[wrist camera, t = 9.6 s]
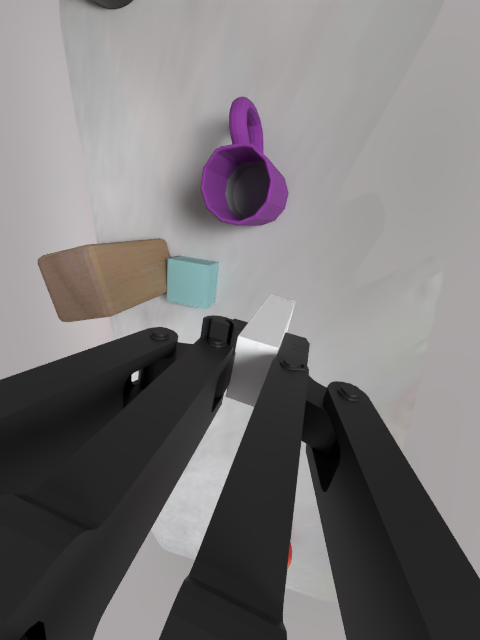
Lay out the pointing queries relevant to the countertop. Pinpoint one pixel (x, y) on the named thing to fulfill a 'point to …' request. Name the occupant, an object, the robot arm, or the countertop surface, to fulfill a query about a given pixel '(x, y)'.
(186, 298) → the teal block
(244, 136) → the mug
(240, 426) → the countertop surface
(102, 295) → the wooden block
